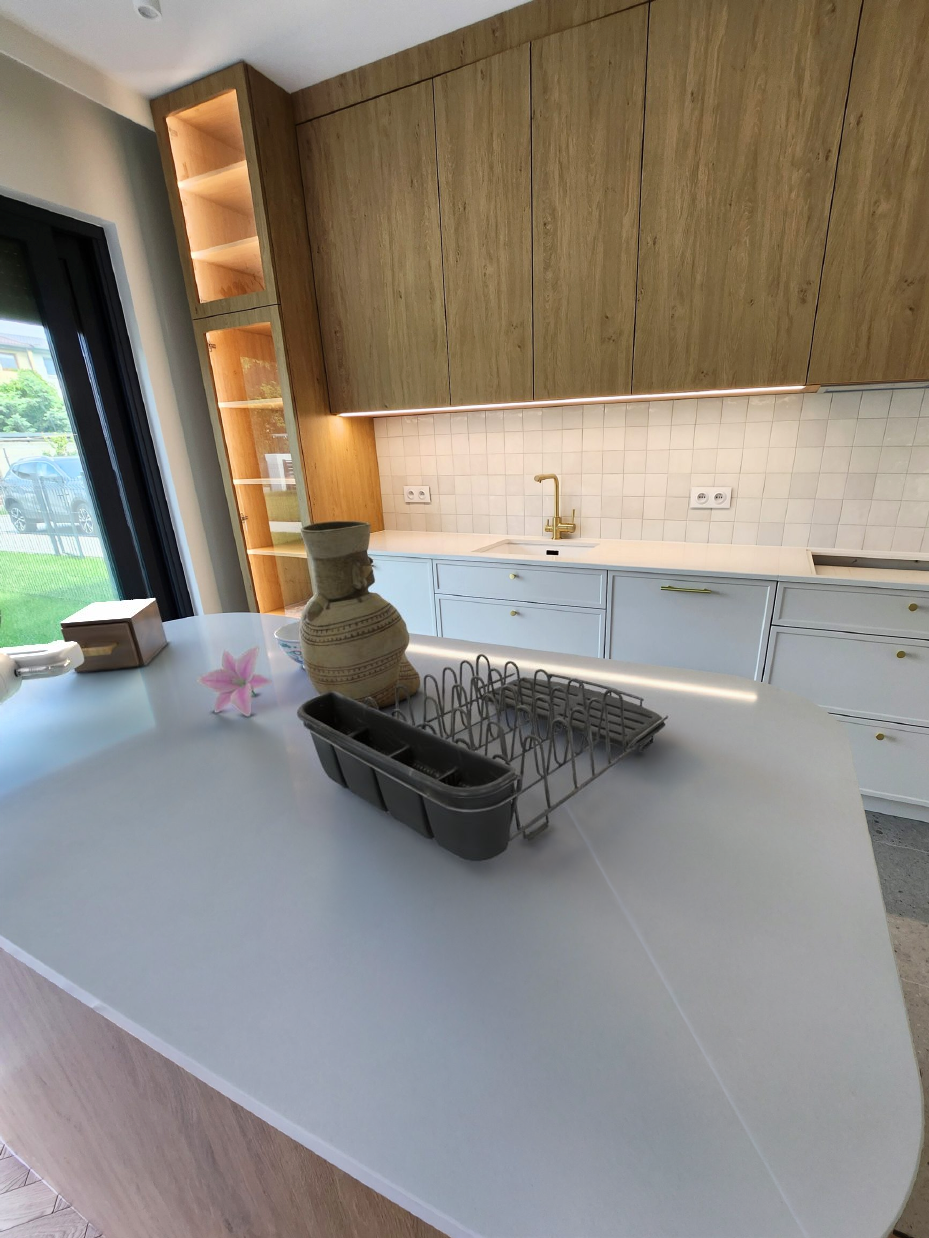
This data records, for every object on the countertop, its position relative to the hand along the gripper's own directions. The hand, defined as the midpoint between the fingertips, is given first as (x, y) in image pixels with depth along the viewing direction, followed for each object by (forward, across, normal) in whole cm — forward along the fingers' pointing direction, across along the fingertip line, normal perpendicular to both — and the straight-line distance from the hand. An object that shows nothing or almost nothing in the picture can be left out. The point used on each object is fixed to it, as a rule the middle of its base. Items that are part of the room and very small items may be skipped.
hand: (29, 648), depth 98 cm
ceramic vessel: (-12, -54, +12) cm, 56 cm away
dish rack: (-40, -73, +12) cm, 84 cm away
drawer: (+22, -3, +10) cm, 24 cm away
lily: (-9, -33, +12) cm, 36 cm away
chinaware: (+8, -45, +12) cm, 47 cm away
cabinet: (+26, -3, +11) cm, 29 cm away
